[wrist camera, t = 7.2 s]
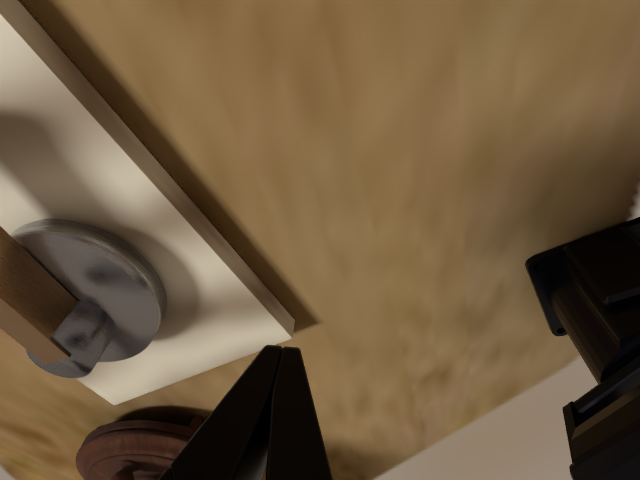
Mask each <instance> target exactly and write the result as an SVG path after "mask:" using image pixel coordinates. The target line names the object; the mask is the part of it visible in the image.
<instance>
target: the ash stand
mask: <svg viewBox="0 0 640 480" xmlns="http://www.w3.org/2000/svg"><path fill="white" fill-rule="evenodd" d="M44 219H62V220H71V221H76V222H81V223H84V224H88V225H91V226H94V227H97V228H99V229H102V230H104V231H106V232H108V233H110V234H112V235H114V236H116V237H118V238H119V239H121V240H123V241H124V242H126V243H127V244H129V245H130V246H131V247H133V248H134V249H135V250H136V251H138V252H139V253H140V254H141V255H142V256H143V257H144V258H145V259H146V260H147V261H148V262H149V263H150V264H151V265H152V267H153V268H154V270H155V271H156V272H157V274H158V276H159V277H160V279H161V281H162V283H163V286H164V288H165V292H166V296H167V310H166V314H165V316H164V319H163V321H162V323H161V324H160V326H159V328H158V330H157V332H156V334H155V336H154V338H153V340H152V341H151V343H150V344H149V346H148V347H147V348H146V349H145V350H143V351H142V352H141V353H139V354H137V355H135V356H134V357H131V358H128V359H125V360H120V361H114V362H97V363H96V365H95V367H94V368H93V370H92V371H91V372H90V374H88V375H87V376H84V377H81V378H76V379H77V380H79V381H80V382H81V383H83V384H84V385H86V386H87V387H89V388H90V389H91V390H93V391H94V392H96V393H97V394H99V395H100V396H101V397H103V398H104V399H106V400H107V401H109V402H110V403H111V404H113V405H117V404H119V403H122V402H125V401H127V400H130V399H133V398H135V397H138V396H141V395H143V394H146V393H149V392H151V391H154V390H157V389H159V388H162V387H164V386H167V385H170V384H172V383H175V382H178V381H180V380H183V379H186V378H188V377H191V376H194V375H196V374H199V373H202V372H204V371H207V370H210V369H212V368H215V367H218V366H220V365H223V364H225V363H228V362H231V361H233V360H236V359H239V358H241V357H244V356H247V355H249V354H252V353H255V352H257V351H260V350H262V349H263V348H264V347H265V346H266V345H276V344H279V343H281V342H284V341H287V340H289V339H292V337H293V331H294V324H295V320H294V319H293V317H292V316H291V315H290V314H289V313H288V312H287V310H286V309H285V308H284V307H283V306H282V305H281V304H280V302H279V301H278V300H277V299H276V298H275V297H274V295H273V294H272V293H271V292H270V291H269V290H268V289H267V287H266V286H265V285H264V284H263V283H262V282H261V280H260V279H259V278H258V277H257V276H256V275H255V273H254V272H253V271H252V270H251V269H250V268H249V267H248V265H247V264H246V263H245V262H244V261H243V260H242V258H241V257H240V256H239V255H238V254H237V253H236V252H235V250H234V249H233V248H232V247H231V246H230V245H229V243H228V242H227V241H226V240H225V239H224V238H223V237H222V235H221V234H220V233H219V232H218V231H217V230H216V228H215V227H214V226H213V225H212V224H211V223H210V221H209V220H208V219H207V218H206V217H205V216H204V215H203V213H202V212H201V211H200V210H199V209H198V208H197V206H196V205H195V204H194V203H193V202H192V201H191V200H190V198H189V197H188V196H187V195H186V194H185V193H184V191H183V190H182V189H181V188H180V187H179V186H178V184H177V183H176V182H175V181H174V180H173V179H172V178H171V176H170V175H169V174H168V173H167V172H166V171H165V169H164V168H163V167H162V166H161V165H160V164H159V163H158V161H157V160H156V159H155V158H154V157H153V156H152V154H151V153H150V152H149V151H148V150H147V149H146V147H145V146H144V145H143V144H142V143H141V142H140V141H139V139H138V138H137V137H136V136H135V135H134V134H133V132H132V131H131V130H130V129H129V128H128V127H127V126H126V124H125V123H124V122H123V121H122V120H121V119H120V117H119V116H118V115H117V114H116V113H115V112H114V110H113V109H112V108H111V107H110V106H109V105H108V104H107V102H106V101H105V100H104V99H103V98H102V97H101V95H100V94H99V93H98V92H97V91H96V90H95V89H94V87H93V86H92V85H91V84H90V83H89V82H88V80H87V79H86V78H85V77H84V76H83V75H82V73H81V72H80V71H79V70H78V69H77V68H76V67H75V65H74V64H73V63H72V62H71V61H70V60H69V58H68V57H67V56H66V55H65V54H64V53H63V52H62V50H61V49H60V48H59V47H58V46H57V45H56V43H55V42H54V41H53V40H52V39H51V38H50V36H49V35H48V34H47V33H46V32H45V31H44V30H43V28H42V27H41V26H40V25H39V24H38V23H37V21H36V20H35V19H34V18H33V17H32V16H31V15H30V13H29V12H28V11H27V10H26V9H25V8H24V6H23V5H22V4H21V3H20V2H19V1H18V0H0V226H1V227H2V228H3V229H4V230H5V231H6V232H7V233H8V234H9V235H10V234H11V233H13V232H14V231H15V230H16V229H18V228H19V227H21V226H23V225H25V224H28V223H31V222H34V221H39V220H44Z"/></svg>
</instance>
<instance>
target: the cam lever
mask: <svg viewBox="0 0 640 480" xmlns="http://www.w3.org/2000/svg"><path fill="white" fill-rule="evenodd" d="M166 310H167V296H166V292H165V288H164V286H163V283H162V281H161V279H160V277H159V276H158V274H157V272H156V271H155V270H154V268H153V267H152V265H151V264H150V263H149V262H148V261H147V260H146V259H145V258H144V257H143V256H142V255H141V254H140V253H139V252H138V251H136V250H135V249H134V248H133V247H131V246H130V245H129V244H127V243H126V242H124V241H123V240H121V239H119V238H118V237H116V236H114V235H112V234H110V233H108V232H106V231H104V230H102V229H99V228H97V227H94V226H91V225H88V224H84V223H81V222H76V221H71V220H62V219H44V220H39V221H34V222H31V223H28V224H25V225H23V226H21V227H19V228H18V229H16V230H15V231H14V232H13V233H11V234H10V235H9V234H8V233H7V232H6V231H5V230H4V229H3V228H2V227H1V226H0V328H1V329H2V330H4V331H5V332H6V333H7V334H8V335H10V336H11V337H12V338H13V339H15V340H16V341H17V342H18V343H20V344H21V345H22V346H23V347H24V348H26V352H27V354H28V356H29V358H30V359H31V360H32V361H33V362H34V363H35V364H36V365H37V366H39V367H40V368H42V369H43V370H45V371H47V372H49V373H52V374H54V375H57V376H61V377H66V378H81V377H84V376H87V375H88V374H90V372H91V371H92V370H93V368H94V367H95V365H96V363H97V362H114V361H120V360H125V359H128V358H131V357H134V356H135V355H137V354H139V353H141V352H142V351H143V350H145V349H146V348H147V347H148V346H149V344H150V343H151V341H152V340H153V338H154V336H155V334H156V332H157V330H158V328H159V326H160V324H161V323H162V321H163V319H164V316H165V314H166Z"/></svg>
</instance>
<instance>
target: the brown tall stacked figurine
mask: <svg viewBox="0 0 640 480" xmlns="http://www.w3.org/2000/svg"><path fill="white" fill-rule="evenodd" d="M202 424H203V423H202V418H201V416H196V417H194V419H193V420H192V421H191V422H190V424H189V426H188V427H186V426H182V425H178V424H173V423H167V422H161V421H151V420H129V421H120V422H114V423H110V424H107V425H104V426H101V427H98V428H97V429H95V430H94V431H92V432H91V433H90V434H89V435H88V436H87V437H86V438H85V440H84V442H83V444H82V446H81V448H80V449H79V451H78V453H77V456H76V466H77V469H78V471H79V473H80V475H81V476H82V477H83V478H84V480H158V479H159V478H160V476H161V475H162V474H163V473H164V471H165V470H166V469H167V468H170V464H171V463H172V462H173V460H174V459H175V458H176V457H177V455H178V454H179V453H180V452H181V450H182V449H183V448H184V447H185V445H186V444H187V443H188V442H189V440H190V439H191V438H192V437H193V435H194V434H195V433H196V432H197V430H198V429H199V428H200V427H201V425H202ZM170 469H171V468H170Z"/></svg>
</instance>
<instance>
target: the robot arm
mask: <svg viewBox="0 0 640 480" xmlns="http://www.w3.org/2000/svg"><path fill="white" fill-rule="evenodd" d="M536 264H539V265H538V266H535V267H534V265H536ZM525 267H526V269H527V272H528V274H529V277H530V279H531V282H532V284H533V287H534V290H535V292H536V295H537V297H538V300H539V302H540V305H541V307H542V310H543V312H544V315H545V318H546V320H547V323H548V325H549V328H550V330H551V331H552V333H553V334H554V335H555V336H564V335H567V334H568V335H569V337H570V338H571V340H572V342H573V343H574V345H575V347H576V348H577V350H578V352H579V353H580V355H581V357H582V358H583V360H584V361H585V363H586V365H587V366H588V368H589V370H590V371H591V373H592V375H593V376H594V378H595V380H596V381H597V383H598V385H597V386H595V387H594V388H593V389H591V390H590V391H589V392H587V393H586V394H584V395H583V396H582V397H580V398H579V399H578V400H576V401H575V402H570V403H568V405H566V406H564V407H563V414H564V420H565V425H566V431H567V436H568V441H569V447H570V453H571V458H572V464H571V465H570V474H571V477H572V479H573V480H640V217H638V218H636V219H633V220H630V221H627V222H625V223H622V224H619V225H617V226H614V227H611V228H608V229H606V230H603V231H600V232H598V233H595V234H592V235H590V236H587V237H584V238H581V239H579V240H576V241H573V242H571V243H568V244H565V245H562V246H560V247H557V248H554V249H552V250H549V251H546V252H544V253H541V254H538V255H535V256H533V257H531V258H529V259H528V260H527V261H526V263H525ZM266 463H267V468H266V480H333V478H332V474H331V470H330V466H329V462H328V458H327V454H326V450H325V446H324V442H323V438H322V434H321V430H320V427H319V423H318V419H317V415H316V411H315V407H314V403H313V399H312V395H311V391H310V387H309V383H308V379H307V375H306V371H305V367H304V363H303V359H302V355H301V351H300V349H299V348H297V347H287V346H286V347H284V348H282V347H281V346H276V345H266V346H265V347H264V348H263V349H262V350H261V351H260V353H259V354H258V355H257V356H256V358H255V359H254V360H253V361H252V363H251V364H250V365H249V366H248V368H247V369H246V370H245V371H244V373H243V374H242V375H241V376H240V378H239V379H238V380H237V381H236V383H235V384H234V385H233V386H232V388H231V389H230V390H229V391H228V393H227V394H226V395H225V396H224V398H223V399H222V400H221V401H220V403H219V404H218V405H217V406H216V408H215V409H214V410H213V411H212V413H211V414H210V415H209V417H208V418H207V419H206V420H205V422H204V423H203V424H202V425H201V427H200V428H199V429H198V430H197V432H196V433H195V434H194V435H193V437H192V438H191V439H190V440H189V442H188V443H187V444H186V445H185V447H184V448H183V449H182V450H181V452H180V453H179V454H178V455H177V457H176V458H175V459H174V460H173V462H172V463H171V464H170V468H171V469H170V468H167V469H166V470H165V471H164V473H163V474H162V475H161V476H160V478H159V479H158V480H262V478H263V474H264V470H265V467H266Z"/></svg>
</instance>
